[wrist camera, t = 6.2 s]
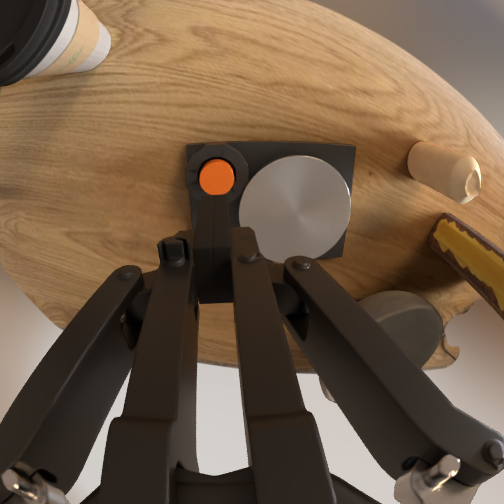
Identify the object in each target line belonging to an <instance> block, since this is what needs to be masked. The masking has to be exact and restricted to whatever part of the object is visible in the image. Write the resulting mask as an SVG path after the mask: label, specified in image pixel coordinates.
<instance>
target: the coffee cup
mask: <svg viewBox="0 0 504 504" xmlns="http://www.w3.org/2000/svg"><path fill="white" fill-rule="evenodd" d="M110 47H111V36H110V33H109V31H108V30H107V29H106V28H105V26H104V25H103V24H102V23H101V22H100V21H99V20H98V19H97V17H96V16H95V14H94V13H93V12H92V11H91V10H90V9H89V8H88V7H87V6H86V5H85V4H84V3H83V2H82V1H81V0H0V87H3V86H8V85H11V84H14V83H16V82H18V81H19V80H21V79H23V80H24V79H31V78H38V77H46V76H56V75H63V74H66V73H78V72H85V71H89V70H91V69H93V68H95V67H96V66H98V65H99V64H100V63H101V62H102V61H103V60H104V59H105V58H106V56H107V55H108V53H109V51H110Z"/></svg>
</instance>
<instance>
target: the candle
mask: <svg viewBox="0 0 504 504" xmlns="http://www.w3.org/2000/svg"><path fill="white" fill-rule="evenodd" d="M407 164H408V170H409V172H410V174H411V176H412V177H413V178H415V179H416V180H417V181H419V182H421V183H423V184H425V185H427V186H429V187H431V188H432V189H434V190H436V191H438V192H440V193H442V194H443V195H445V196H447V197H449V198H450V199H452V200H454V201H456V202H457V203H460V204H464V203H467V202H468V201H470V200H471V199H473V198H474V197H475V196H477V195H478V194H479V193H480V190H481V176H480V169H479V166H478V164H477V162H476V160H475V159H474V158H472V157H470V156H468V155H465V154H462V153H460V152H457V151H454V150H451V149H448V148H445V147H442V146H439V145H436V144H433V143H429V142H425V141H422V142H418V143H416V144H415V145H414V146H413V147H412V148H411V150H410V152H409V155H408V161H407Z"/></svg>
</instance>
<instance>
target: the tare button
mask: <svg viewBox="0 0 504 504" xmlns="http://www.w3.org/2000/svg"><path fill="white" fill-rule="evenodd" d="M199 181H200V185H201V187H202V189H203V190H204V191H205V192H206V193H208V194H210V195H220V194H225V193H227V192H228V191H229V190H230V189H231V188H232V186H233V183H234V174H233V170H232V167H231V166H230V165H229V164H228V163H227V162H226V161H224V160H221V159H214V160H210V161H208V162H207V163H206V164H205V165H204V166H203V168H202V170H201V173H200V177H199Z"/></svg>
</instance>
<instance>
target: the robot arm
mask: <svg viewBox="0 0 504 504" xmlns="http://www.w3.org/2000/svg"><path fill="white" fill-rule="evenodd" d="M157 247H158V253H159V258H160V265H159V268H158V269H157V270H154V271H151V272H147V273H143V274H142V271H141V268H139V267H138V266H134V265H126V266H122V267H120V268H118V269H116V270H115V271H114V272H113V273H112V274H111V275H110V276H109V277H108V278H107V279H106V280H105V282H104V283H103V284H102V285H101V286H100V287H99V288H98V290H97V291H96V292H95V293H94V294H93V295H92V297H91V298H90V299H89V300H88V301H87V303H86V304H85V305H84V306H83V307H82V309H81V310H80V311H79V312H78V313H77V315H76V316H75V317H74V318H73V320H72V321H71V322H70V323H69V325H68V326H67V327H66V328H65V330H64V331H63V332H62V334H61V335H60V336H59V337H58V339H57V340H56V342H55V343H54V344H53V345H52V347H51V348H50V349H49V351H48V352H47V353H46V355H45V356H44V358H43V359H42V360H41V362H40V363H39V365H38V366H37V367H36V369H35V370H34V372H33V373H32V375H31V376H30V377H29V379H28V381H27V382H26V383H25V385H24V386H23V388H22V389H21V391H20V392H19V394H18V396H17V397H16V399H15V400H14V402H13V403H12V405H11V407H10V408H9V410H8V412H7V413H6V415H5V417H4V418H3V420H2V422H1V424H0V504H70V503H69V501H68V500H67V499H66V497H65V495H66V494H67V493H68V492H69V491H70V489H71V488H72V486H73V485H74V483H75V482H76V480H77V479H78V477H79V475H80V473H81V471H82V469H83V467H84V465H85V463H86V460H87V458H88V456H89V454H90V451H91V449H92V447H93V445H94V442H95V441H96V438H97V436H98V434H99V432H100V430H101V428H102V425H103V423H104V421H105V419H106V417H107V415H108V413H109V411H110V409H111V407H112V405H113V403H114V401H115V399H116V397H117V395H118V393H119V391H120V389H121V387H122V385H123V383H124V381H125V379H126V377H127V375H128V373H129V372H130V370H131V373H130V378H129V383H128V388H127V393H126V398H125V403H124V408H123V412H122V415H121V416H120V417H116V418H114V419H113V420H112V421H111V423H110V426H109V430H108V435H107V441H106V447H105V454H104V461H103V468H102V475H101V484H100V485H99V486H98V487H97V488H96V489H95V490H94V491H93V492H92V493H91V494H90V495H89V496H87V497H86V498H85V499H84V500H83V501H82V502H81V503H80V504H381V503H380V502H378V501H376V500H375V499H373V498H371V497H370V496H368V495H366V494H365V493H363V492H362V491H360V490H358V489H357V488H355V487H354V486H352V485H350V484H349V483H347V482H346V481H344V480H343V479H341V478H340V477H338V476H336V475H334V474H331V473H330V472H329V468H328V464H327V461H326V457H325V453H324V449H323V446H322V442H321V438H320V435H319V431H318V427H317V424H316V421H315V418H314V416H313V414H312V413H311V412H309V411H307V410H306V408H305V405H304V402H303V398H302V395H301V390H300V387H299V383H298V379H297V375H296V371H295V368H294V364H293V360H292V356H291V353H290V349H289V345H288V341H287V338H286V334H285V330H284V326H283V323H284V324H285V326H286V327H287V329H288V330H289V332H290V333H291V335H292V336H293V338H294V340H295V341H296V343H297V344H298V346H299V347H300V349H301V350H302V352H303V353H304V355H305V356H306V358H307V359H308V361H309V362H310V364H311V365H312V367H313V368H314V370H315V371H316V373H317V374H318V376H319V377H320V379H321V380H322V382H323V384H324V385H325V387H326V388H327V390H328V391H329V393H330V394H331V396H332V397H333V399H334V400H335V402H336V403H337V404H338V406H339V407H340V409H341V410H342V412H343V413H344V415H345V416H346V418H347V419H348V421H349V422H350V424H351V425H352V427H353V428H354V430H355V431H356V433H357V434H358V436H359V437H360V439H361V440H362V442H363V443H364V444H365V446H366V448H367V449H368V450H369V452H370V453H371V455H372V456H373V458H374V459H375V460H376V461H377V463H378V464H379V465H380V466H381V468H382V469H383V470H384V471H386V473H387V474H388V475H390V476H391V477H392V478H393V479H394V480H396V484H395V487H394V488H395V491H394V497H395V499H396V500H397V501H398V502H400V503H401V504H470V503H471V501H472V499H473V497H474V495H475V493H476V491H477V489H478V487H479V486H480V484H482V483H483V482H485V481H487V480H488V479H490V478H492V477H493V476H495V475H496V474H498V473H499V472H500V471H502V470H503V469H504V436H503V435H502V434H500V433H499V432H497V431H495V430H494V429H492V428H490V427H489V426H487V425H485V424H483V423H482V422H480V421H478V420H476V419H475V418H473V417H472V416H470V415H468V414H466V413H465V412H463V411H461V410H460V409H458V408H456V407H455V406H453V404H452V403H451V402H450V401H449V400H448V399H447V397H446V396H445V395H444V394H443V393H442V392H441V391H440V390H439V388H438V387H437V386H436V385H435V384H434V383H433V382H432V381H431V380H430V378H429V377H428V376H427V375H426V374H425V373H424V372H423V371H422V370H421V369H420V367H419V366H418V365H417V364H416V363H415V362H414V361H413V360H412V359H411V358H410V357H409V356H408V355H407V353H406V352H405V351H404V350H403V349H402V348H401V347H400V346H399V345H398V344H397V343H396V342H395V341H394V340H393V339H392V338H391V337H390V335H389V334H388V333H387V332H386V331H385V330H384V329H383V328H382V327H381V326H380V325H379V324H378V323H377V322H376V321H375V320H374V319H373V318H372V317H371V316H370V315H369V314H368V313H367V312H366V311H365V310H364V309H363V308H362V307H361V306H360V305H359V304H358V303H357V302H356V301H355V300H354V299H353V298H352V297H351V296H350V294H349V293H348V292H347V291H345V290H344V289H343V288H342V287H341V286H340V285H339V284H338V283H337V282H336V281H335V280H334V279H333V278H332V277H331V276H330V275H329V274H328V273H327V272H326V271H325V270H324V269H323V268H322V267H321V266H320V265H319V264H318V263H317V262H316V261H315V260H313V259H312V258H309V257H306V256H301V255H298V256H292V257H289V258H287V259H286V260H285V262H284V265H278V264H273V263H270V262H267V261H266V260H265V257H264V256H263V254H262V253H260V250H259V247H258V243H257V239H256V235H255V231H254V230H253V229H251V228H250V227H230V223H229V210H228V198H227V194H220V195H202V198H201V203H200V208H199V213H198V219H197V224H196V230H188V231H179V232H178V233H177V234H176V235H174V236H171V237H167V238H164V239H162V240H161V241H159V243H158V244H157ZM198 297H199V304H211V303H230V302H233V306H234V323H235V332H236V344H237V355H238V366H239V377H240V387H241V398H242V407H243V417H244V427H245V436H246V444H247V453H248V464H249V467H247V468H243V469H240V470H237V471H233V472H229V473H226V474H222V475H218V476H211V475H206V474H202V473H199V467H198V462H197V456H196V386H197V385H196V383H197V382H196V381H197V353H198V330H199V305H198ZM122 315H123V318H122V319H121V317H122ZM120 320H121V321H120ZM282 321H283V323H282ZM131 368H132V369H131Z"/></svg>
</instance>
